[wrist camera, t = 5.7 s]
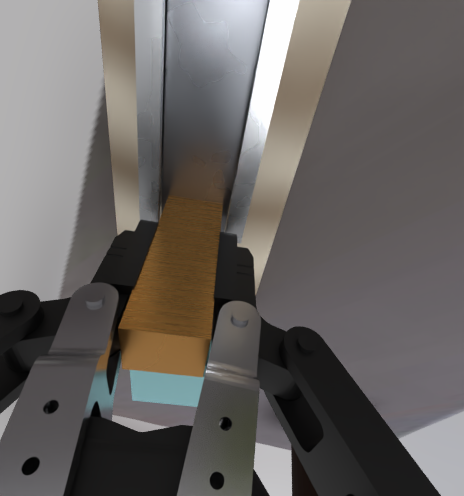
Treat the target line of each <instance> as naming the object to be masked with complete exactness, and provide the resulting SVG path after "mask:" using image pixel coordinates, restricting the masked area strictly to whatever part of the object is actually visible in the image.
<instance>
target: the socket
mask: <svg viewBox="0 0 464 496" xmlns="http://www.w3.org/2000/svg"><path fill="white" fill-rule="evenodd" d="M210 351H211V341H210V346H209V350H208V355H207V360H206V364H205V369H204V374H203V377H194V376H185V375H175V374H166V373H157V372H147V371H138V370H130V378H131V390H132V400H134V401H144V402H154V403H164V404H174V405H184V406H195V407H197V406H198V402H199V398H200V393H201V389H202V385H203V380H204V376H205V372H206V368H207V364H208V359H209V355H210Z"/></svg>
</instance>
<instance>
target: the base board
mask: <svg viewBox="0 0 464 496" xmlns="http://www.w3.org/2000/svg"><path fill="white" fill-rule="evenodd" d="M350 3H351V0H299V3H298V7H297V12H296V16H295V20H294V24H293V28H292V32H291V37H290V41H289V45H288V49H287V53H286V57H285V62H284V66H283V70H282V74H281V78H280V82H279V87H278V91H277V95H276V99H275V103H274V107H273V112H272V116H271V120H270V124H269V128H268V133H267V137H266V141H265V145H264V149H263V153H262V158H261V162H260V166H259V170H258V174H257V178H256V183H255V187H254V191H253V195H252V199H251V203H250V208H249V212H248V216H247V220H246V224H245V228H244V233H243V237H242V241H241V243H237V247H243V248H248V249H249V251H250V252H251V254H252V256H253V257H254V276H255V296H256V293H257V290H258V287H259V284H260V281H261V278H262V275H263V271H264V268H265V265H266V262H267V259H268V256H269V253H270V250H271V247H272V244H273V241H274V237H275V234H276V231H277V228H278V225H279V222H280V219H281V216H282V213H283V210H284V207H285V203H286V200H287V197H288V194H289V191H290V188H291V185H292V182H293V179H294V176H295V173H296V169H297V166H298V163H299V160H300V157H301V154H302V151H303V148H304V145H305V142H306V139H307V135H308V132H309V129H310V126H311V123H312V120H313V117H314V114H315V111H316V108H317V105H318V101H319V98H320V95H321V92H322V89H323V86H324V83H325V80H326V77H327V74H328V71H329V67H330V64H331V61H332V58H333V55H334V52H335V49H336V46H337V43H338V40H339V37H340V33H341V30H342V27H343V24H344V21H345V18H346V15H347V12H348V9H349V6H350ZM98 7H99V8H98V9H99V20H100V32H101V43H102V56H103V68H104V80H105V92H106V104H107V116H108V127H109V139H110V151H111V163H112V175H113V187H114V199H115V211H116V222H117V234H118V235H119V234H120V233H122V232H123V231H124V230H130V231H135V230H136V228H137V225H138V223H139V221H140V214H139V175H138V137H137V99H136V60H135V22H134V0H98ZM230 202H231V200H230ZM161 207H162V204H161ZM161 207H160V217H161ZM229 208H230V205H229ZM228 213H229V210H228ZM227 218H228V216H227ZM226 223H227V221H226ZM225 229H226V226H225ZM224 232H225V231H224Z"/></svg>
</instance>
